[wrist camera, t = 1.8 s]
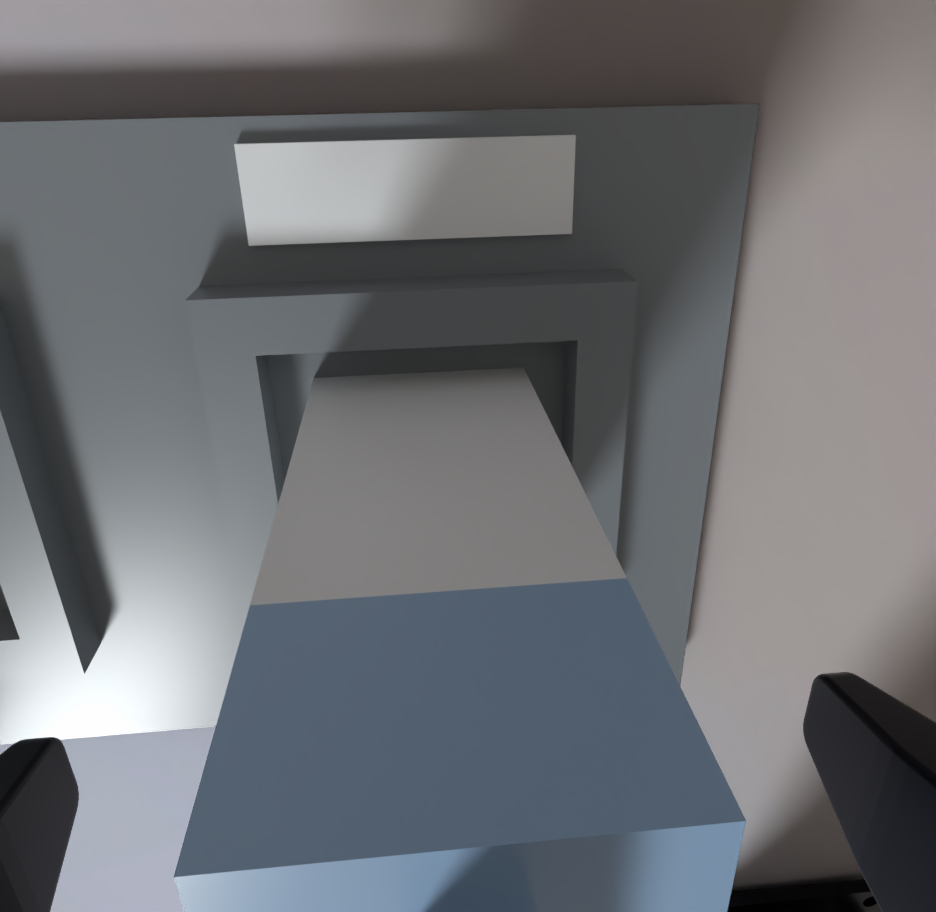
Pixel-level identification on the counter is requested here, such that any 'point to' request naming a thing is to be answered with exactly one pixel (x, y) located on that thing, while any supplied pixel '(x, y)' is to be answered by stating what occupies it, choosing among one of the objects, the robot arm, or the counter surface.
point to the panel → (328, 354)
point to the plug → (450, 684)
